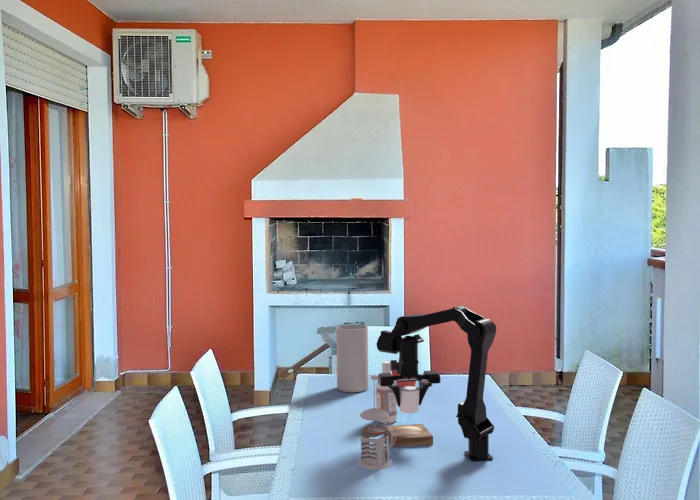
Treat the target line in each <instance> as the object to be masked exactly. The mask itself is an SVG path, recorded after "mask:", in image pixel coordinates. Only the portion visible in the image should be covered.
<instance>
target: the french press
mask: <svg viewBox="0 0 700 500" xmlns="http://www.w3.org/2000/svg"><path fill="white" fill-rule="evenodd" d="M370 380H372V381H375V380H377V381H378V375H376V374H372V375H371V376H370ZM375 390H376V388H375V383H373V407H372V408H368V409H365V410H363V411H362V412H360V414H359V417H360V418H361V419H362V420H366V421H370V422H371V421H373V424H368V425H364V426H363V427H362V428H361V431H362V432H361V434H360V456H361V457H360V458H359V459H358V461H357V465H358V466H359V467H360V468H361V467H362V468H364V469H368V470H383V469H386V468H389V467H390V466H392V465H393V460H391V459H390V457H389V453H390V451H389V449H390V448H391V447H394V446H393V445H394V443H395V441H396V432H395V429H394V427H393V426H394V425H393V423H390V422H387V423H382V424H383V425H381V424H376V423H375V422H378V421H377V420H383V419H386V418H388V416H389V414H388V413H387V412H386V411H384V410H381V409H378V408H376V404H375V403H376V399H375V397H376V396H375V395H376V394H375V393H376V391H375ZM389 424H390V425H389ZM387 426H388V428H389V426H392V427H393V429H394V432H395V441H394V443H393V444H392V432H391V430H390V432H391V441H390V439H389V438H388V433H387V432H386V431H387V428H386V427H387ZM389 429H390V428H389ZM383 435H385V436H383ZM380 436H381V437H380ZM377 437H379V438H377ZM389 442H390V444H389Z"/></svg>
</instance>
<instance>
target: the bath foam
mask: <svg viewBox="0 0 700 500" xmlns="http://www.w3.org/2000/svg"><path fill="white" fill-rule="evenodd" d="M381 373H391V374H392V371H391V370H390V361H389V360H388V361H387V360H385V361H382V362H381ZM392 376H393V375H392ZM375 390H376V391H375V393H376V394H375V395H376V396H375V397H376V399H375V403H376V404H375V408H378V409H381V410H384V411H386V412H387V413H388V414H389V416H388V418H386V419H383V420H377V421H376V422H378V423H381V424H384V423H386V424H387V422H390V423H391V424H393V422H394V423H395V421H396V419H397V420H398V405H397V402H396V399H395V396H394V393H393V391H392V389H390V388H389V387H388V386H380V384H379V383H378V380H377V381H376V388H375ZM396 422H397V421H396ZM390 423H389V424H390Z"/></svg>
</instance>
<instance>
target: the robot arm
mask: <svg viewBox="0 0 700 500" xmlns="http://www.w3.org/2000/svg"><path fill="white" fill-rule="evenodd" d="M450 322H455V323H456V324H457V326H458V327H459V329H460V330H462V331H463V332H464V333H465V334H466V335H467V336H466V337H467V343H468V346H469V348H470V357H469V367H468V368H469V369H468V377H467V386H466V397H465V400H463V401H461V402H459V403H458V405H457V414H456V416H455V417H456V418H457V423H458V425H459V426H460V429H461V432H462V435H463V438H464V439H468V441H467V443H468V444H467V446H468V450H465V451H464V454H465V456H466V457H467V458H468V459H469V460H470V462H472V461H473V462H475V461H489V460H490V461H491V460H493V459H494V457H493V455H491V454H490V453H489V452H490V451H489V446H490V445H489V443H490V441H489V440H490V439H489V438H490V437H489V435H491V434H493V433H494V429H495V426H494V424H493V423H492V422H491V420H490V419H489V418H488V415H487V407H486V404H485V401H484V390H485V382H486V373H487V366H488V365H487V363H488V356H489V350H490V349H491V347H492V345H493V343H494V340H495V337H496V334H497V325H496V324H495V322H494V321H493V320H492V319H489V318H485V317H484V316H483V315H481V314H479V313H476V312H474V311H472V310H470V309H469V308H468V307H466V306H464V305H457V306H453V307H451V308H447V309H444V310H441V311H435V312H432V313H427V314H424V313H418V314H417V313H412V314H407V315H403V316H399V317H398V318H396V321H395V325H394V327H393V328H392V330H391V331H390V330H385V329H384V330H381V331H380V335H379V337H378V338H377V341H376V349H377V350H378V352H380V353H386V354H393V355H397V354H398V355H399V357H398V361H397V359H394V360H393V359H391V360H390V361H389V362H390V370H391V373H382V372H381V373H380V372H379V374H378V375H377V381H378V383H379V384H380V386H388V387H389V388H390V389H392V391H393V393H394V396H395V399H396V402H397V408H398V407H399V408H400V394H399V386H398V385H397V382H404V381H416V382H418V387H419V388H420V395H419V407H420V406H421V405H422V404H423V403H422V402H423V400H424V397H425V395H426V394H427V392H428V390H429V388H430V387H432V386H433V384H440V383H441V375H440V373H438V372H437V371H436V370H423V373H421V374H419V362H420V361H419V344H420V343H423V342H425V340H424V338H423V337H422V336H420V334H418V332H420V331H422V330H425V329H426V328H428V327H431V326H434V325H435V326H436V325H440V324H441V325H442V324H445V323H450ZM414 333H417V334H414ZM411 334H414V335H411ZM403 336H404V337H403ZM392 371H396V374H400V376H392ZM403 378H406V379H403Z"/></svg>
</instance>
